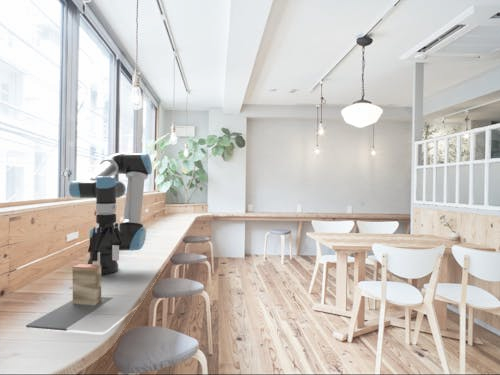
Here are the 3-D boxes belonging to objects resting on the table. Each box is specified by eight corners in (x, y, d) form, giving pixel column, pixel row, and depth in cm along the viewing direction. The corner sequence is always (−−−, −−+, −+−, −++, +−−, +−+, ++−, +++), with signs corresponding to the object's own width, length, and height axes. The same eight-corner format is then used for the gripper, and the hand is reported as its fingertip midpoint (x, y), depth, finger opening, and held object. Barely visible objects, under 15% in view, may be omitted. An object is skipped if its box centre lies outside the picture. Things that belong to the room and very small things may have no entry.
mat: (81, 296, 126) (81, 295, 126) (113, 299, 124) (113, 297, 124) (26, 327, 101) (26, 325, 101) (65, 330, 99) (65, 328, 99)
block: (79, 299, 122) (79, 263, 122) (101, 301, 121) (101, 264, 120) (72, 303, 118) (72, 266, 118) (94, 305, 117) (94, 267, 116)
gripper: (95, 217, 118) (96, 273, 118) (130, 210, 143) (130, 257, 143) (77, 216, 119) (77, 272, 119) (114, 210, 144) (115, 256, 144)
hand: (106, 264), depth 131 cm, fingers open, 13 cm apart
